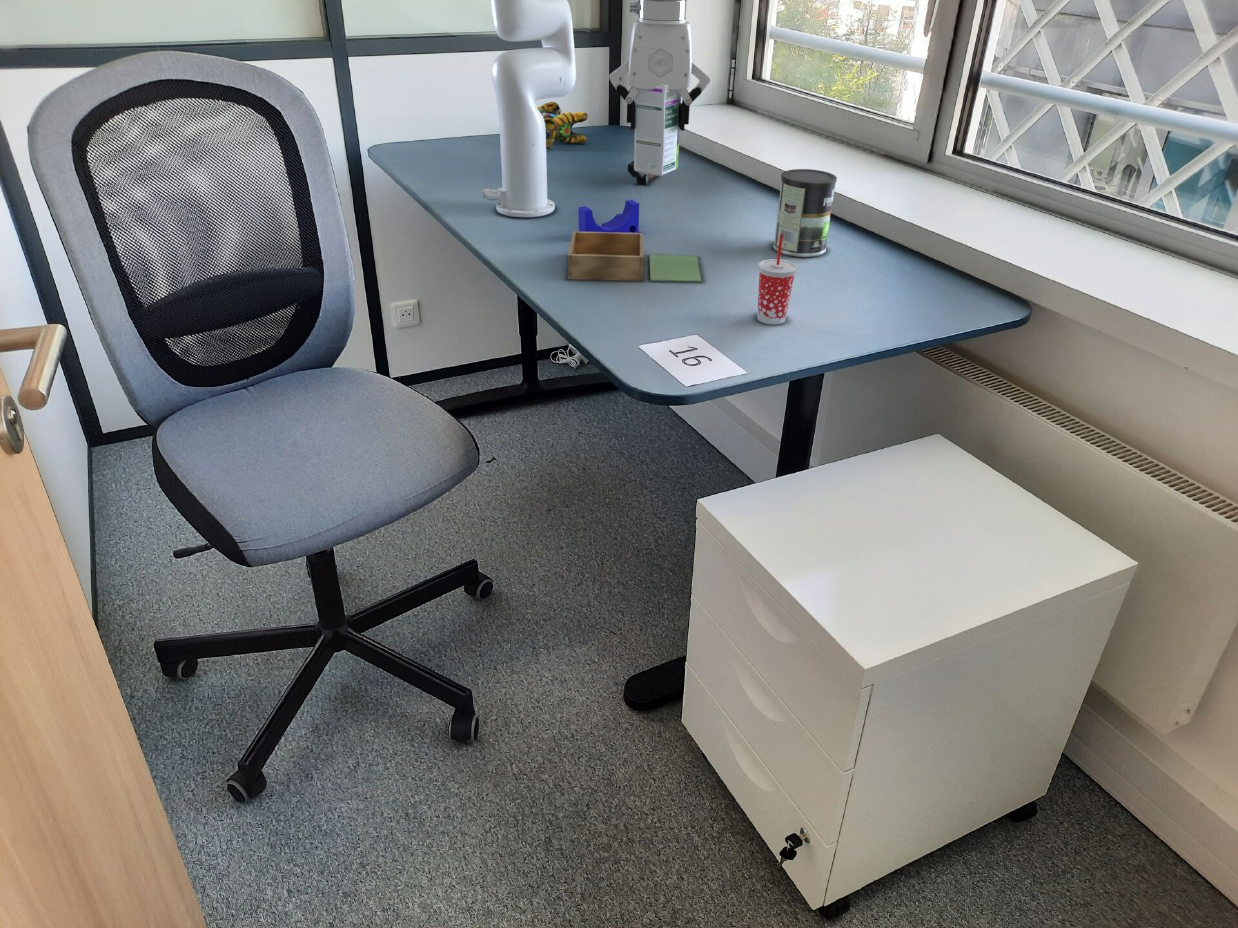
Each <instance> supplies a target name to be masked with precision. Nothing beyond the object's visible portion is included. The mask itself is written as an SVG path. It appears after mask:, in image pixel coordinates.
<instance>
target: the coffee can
mask: <svg viewBox="0 0 1238 928" xmlns="http://www.w3.org/2000/svg"><path fill="white" fill-rule="evenodd" d="M780 179H781V181H780V190H779V198H778V206H777V207H778V208H777V215H776V223H775V224H776V225H775V231H774V232H775V234H774V240H773V249H774V250H775V251H776V252H778V247H779V239H780V234H783V240H782V248H781V255H782V254H783V255H786V256H791V257H799V258H813V257H814V258H815V257H818V256H822V255H823V254H825V252H827V242H828V236H829V235H828V234H829V228H830V221H831V215H832V209H833V201H834V194H835V189H836V183H837V181H838V177H837V176H836V175H835V174H833V173H831V172H829V171H824V170H819V169H811V168H810V169H809V168H796V169H789V170H785V171H783V172H781V174H780Z"/></svg>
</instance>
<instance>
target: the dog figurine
mask: <svg viewBox="0 0 1238 928" xmlns="http://www.w3.org/2000/svg"><path fill="white" fill-rule="evenodd" d="M536 107H537V108H538V110H539V111H540V113H541V115H542V116H543V118H544V121H545V127H546V151H547V150H550V149H551V148H552V146H553V144H554V142H555V140H556V141H558V142H560V143H563V144H569V145H575V144H576V145H577V144H578V145H581V144H585V143H586V142H587V137H586V136H585V135H583V134H582V133H578V132H575V131H574V129H573V127H574V125H575V124H579V123H583V122H586V121H587V120H588V113H587V112H586V111H575V112H563V110H562V109H561V107H560V105H559V103H557V102H555V101H548V102H546V103H544V104H541V105H540V106H536Z"/></svg>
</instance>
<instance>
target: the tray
mask: <svg viewBox="0 0 1238 928" xmlns="http://www.w3.org/2000/svg"><path fill="white" fill-rule="evenodd" d="M567 274H568V275H567V276H568V277H567V278H568V280H582V281H583V280H585V281H586V280H587V281H589V280H590V281H625V282H626V281H628V282H629V281H630V282H643V280H644V279H643V278H644V233H643V232H638V233H615V232H579V231H577V230H575V231H572V234H571V238H570V244H569V248H568V253H567Z"/></svg>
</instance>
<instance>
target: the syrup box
mask: <svg viewBox="0 0 1238 928" xmlns="http://www.w3.org/2000/svg"><path fill="white" fill-rule="evenodd" d="M634 102H635V105H636V106H635V129H634V148H633V149H634V150H633V151H634V154H633V160H634V170H635V171H638V172H642V173H646V174H652V175H658V176H659V177H663V176H664V175H666V174H668V173H671V172H673V171H677V170H678V169H679V150H680V131H681V130H680V110H681V103H682V97H681V95H680V93H679V91H669V89H668V85H665V84H657V85H656V86H655V89H653V90H639V92H638V93H637V95H636V97H635V99H634ZM658 176H657V177H658Z"/></svg>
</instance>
